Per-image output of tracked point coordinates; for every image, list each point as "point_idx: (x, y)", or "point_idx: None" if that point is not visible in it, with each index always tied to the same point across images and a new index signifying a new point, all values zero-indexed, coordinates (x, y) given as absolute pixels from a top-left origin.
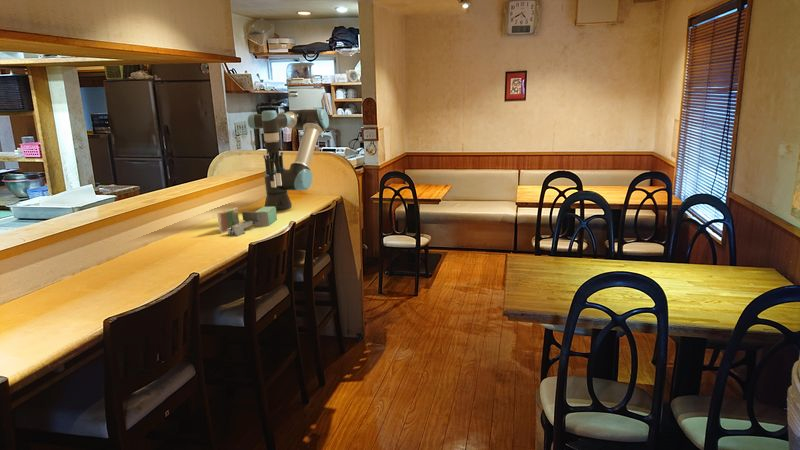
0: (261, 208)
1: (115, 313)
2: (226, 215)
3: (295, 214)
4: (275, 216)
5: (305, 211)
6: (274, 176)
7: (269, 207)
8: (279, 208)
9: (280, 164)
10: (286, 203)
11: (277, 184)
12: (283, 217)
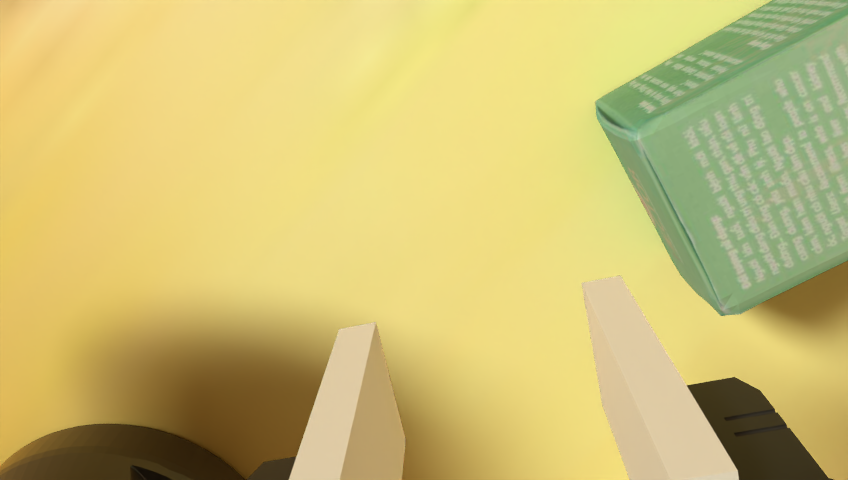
0: (844, 232)
1: None
2: None
3: (260, 99)
4: (660, 74)
5: (68, 103)
6: (708, 434)
7: (742, 162)
8: (207, 467)
9: None
10: (84, 468)
11: (397, 436)
12: (460, 121)
